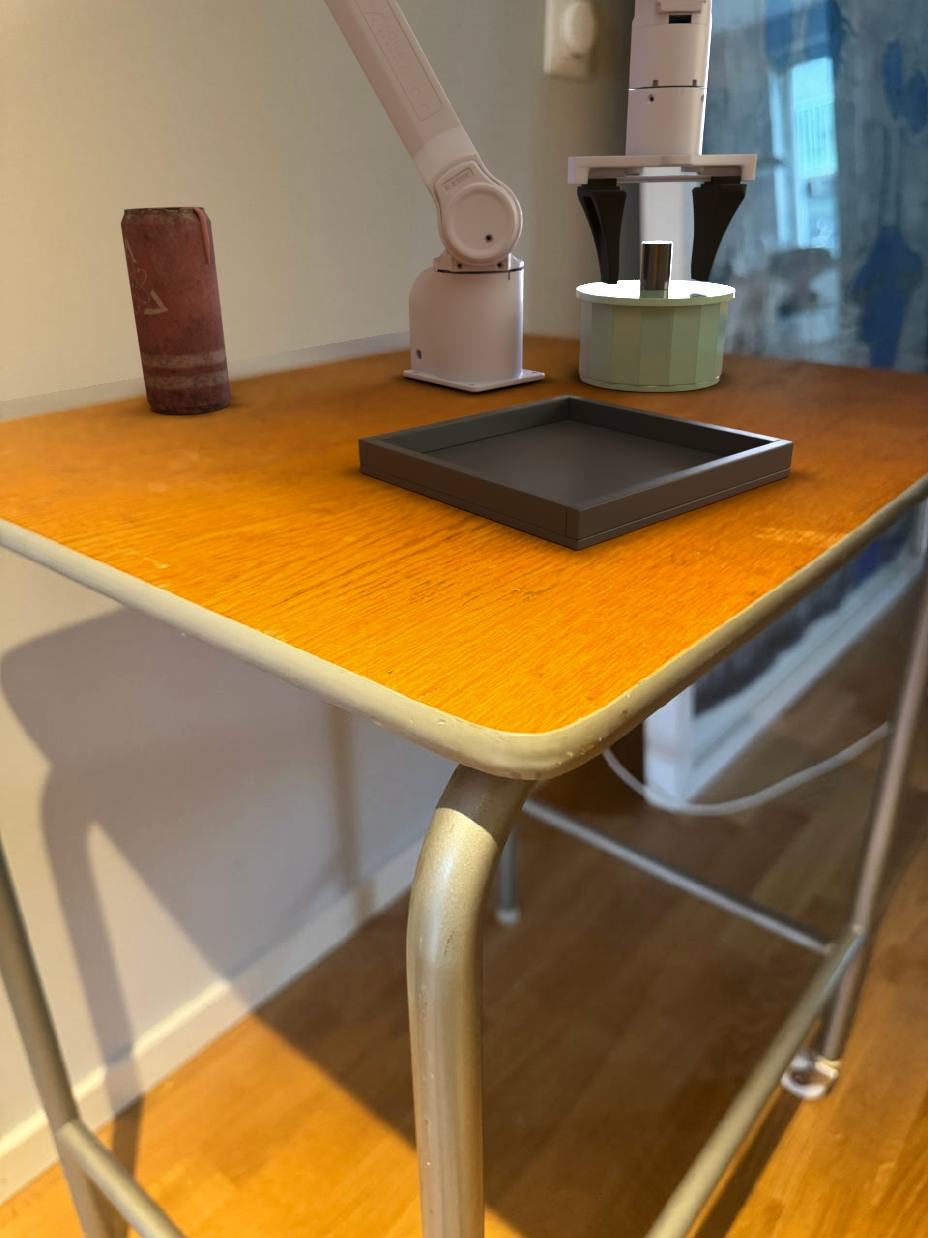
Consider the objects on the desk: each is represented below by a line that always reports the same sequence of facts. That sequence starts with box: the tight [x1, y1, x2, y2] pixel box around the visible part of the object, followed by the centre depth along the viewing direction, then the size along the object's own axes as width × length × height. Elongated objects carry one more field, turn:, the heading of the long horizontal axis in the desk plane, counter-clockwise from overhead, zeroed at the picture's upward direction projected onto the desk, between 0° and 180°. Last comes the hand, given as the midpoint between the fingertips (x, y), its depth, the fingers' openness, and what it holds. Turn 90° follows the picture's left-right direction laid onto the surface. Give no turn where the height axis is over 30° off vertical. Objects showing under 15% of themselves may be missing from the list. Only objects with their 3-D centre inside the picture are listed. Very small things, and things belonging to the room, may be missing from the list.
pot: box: [578, 300, 729, 393], centre depth 81 cm, size 12×12×6 cm
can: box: [120, 206, 232, 416], centre depth 71 cm, size 6×6×14 cm
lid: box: [575, 240, 736, 307], centre depth 78 cm, size 13×13×5 cm
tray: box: [357, 393, 794, 551], centre depth 56 cm, size 18×18×2 cm
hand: (654, 281), depth 79 cm, fingers open, 7 cm apart
